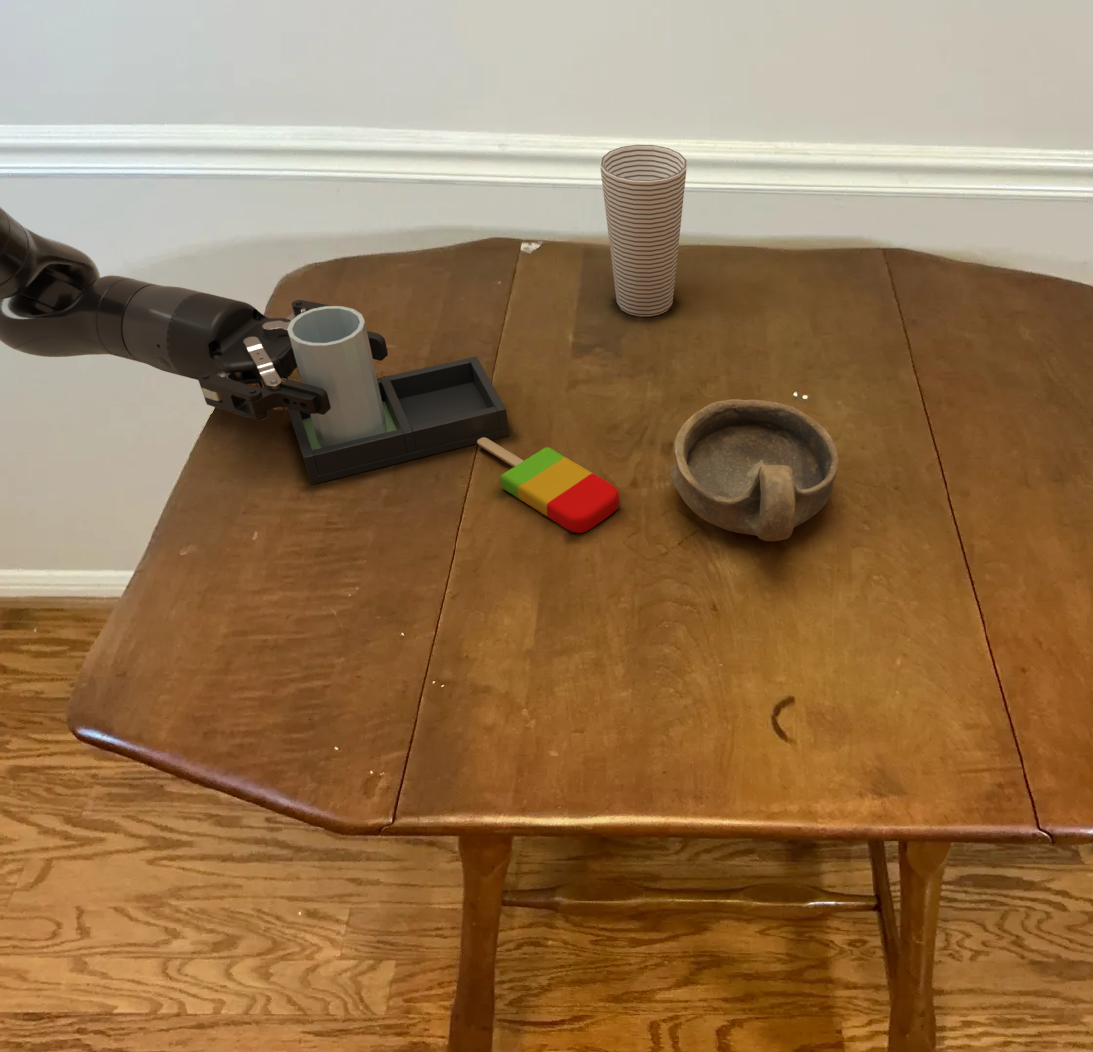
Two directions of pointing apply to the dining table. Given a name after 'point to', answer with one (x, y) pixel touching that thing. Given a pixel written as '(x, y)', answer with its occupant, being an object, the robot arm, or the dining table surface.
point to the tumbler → (338, 372)
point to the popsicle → (557, 487)
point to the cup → (644, 224)
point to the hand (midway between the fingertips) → (356, 374)
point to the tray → (412, 421)
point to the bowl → (754, 467)
